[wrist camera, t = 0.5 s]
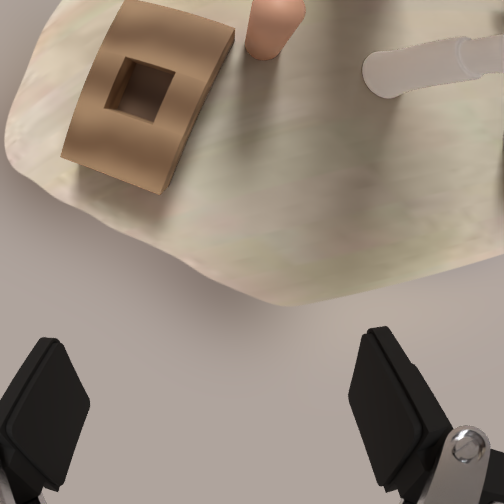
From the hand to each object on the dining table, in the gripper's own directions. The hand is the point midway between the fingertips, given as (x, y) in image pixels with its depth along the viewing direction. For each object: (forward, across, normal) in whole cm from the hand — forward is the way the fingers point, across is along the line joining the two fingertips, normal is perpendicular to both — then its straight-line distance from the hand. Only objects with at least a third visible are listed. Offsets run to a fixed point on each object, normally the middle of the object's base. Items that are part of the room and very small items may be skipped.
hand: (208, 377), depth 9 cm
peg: (+29, -5, -16) cm, 33 cm away
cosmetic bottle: (+29, -19, -14) cm, 37 cm away
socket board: (+28, +8, -11) cm, 32 cm away
